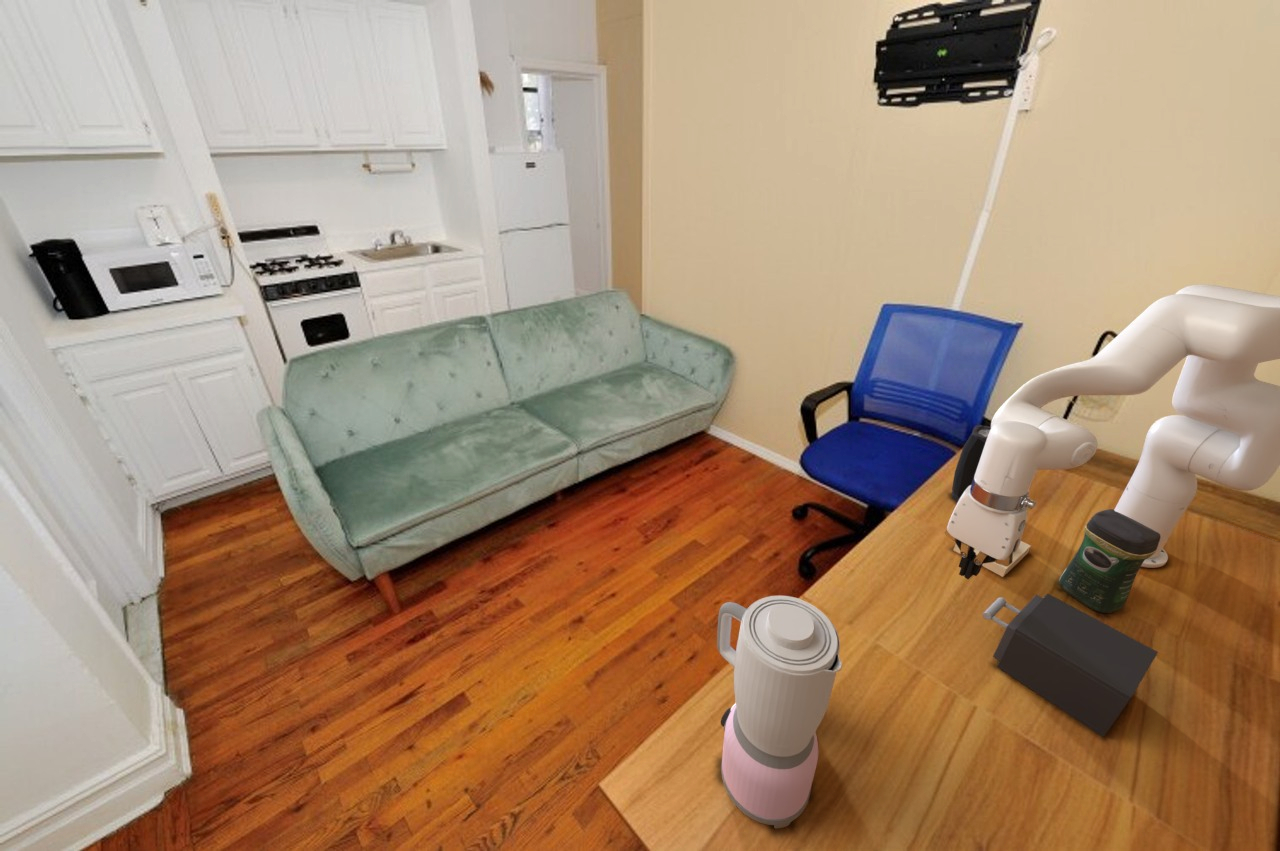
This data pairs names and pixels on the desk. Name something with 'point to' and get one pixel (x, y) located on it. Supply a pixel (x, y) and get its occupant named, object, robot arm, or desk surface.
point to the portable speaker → (969, 461)
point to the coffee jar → (1108, 561)
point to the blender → (775, 703)
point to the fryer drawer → (1010, 627)
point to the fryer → (1076, 662)
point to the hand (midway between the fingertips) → (967, 573)
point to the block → (1002, 569)
